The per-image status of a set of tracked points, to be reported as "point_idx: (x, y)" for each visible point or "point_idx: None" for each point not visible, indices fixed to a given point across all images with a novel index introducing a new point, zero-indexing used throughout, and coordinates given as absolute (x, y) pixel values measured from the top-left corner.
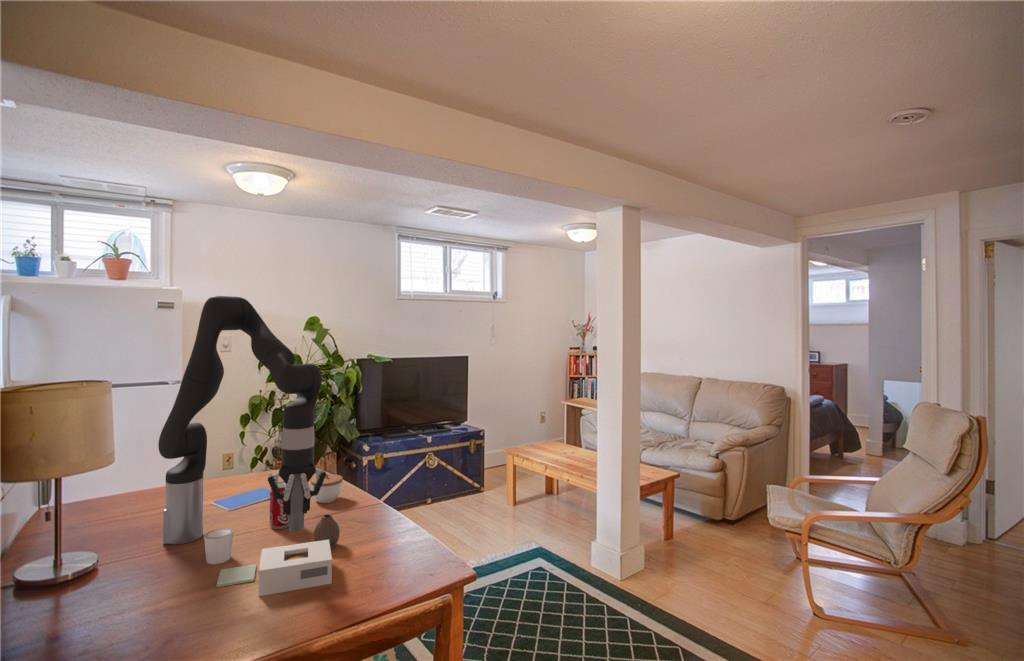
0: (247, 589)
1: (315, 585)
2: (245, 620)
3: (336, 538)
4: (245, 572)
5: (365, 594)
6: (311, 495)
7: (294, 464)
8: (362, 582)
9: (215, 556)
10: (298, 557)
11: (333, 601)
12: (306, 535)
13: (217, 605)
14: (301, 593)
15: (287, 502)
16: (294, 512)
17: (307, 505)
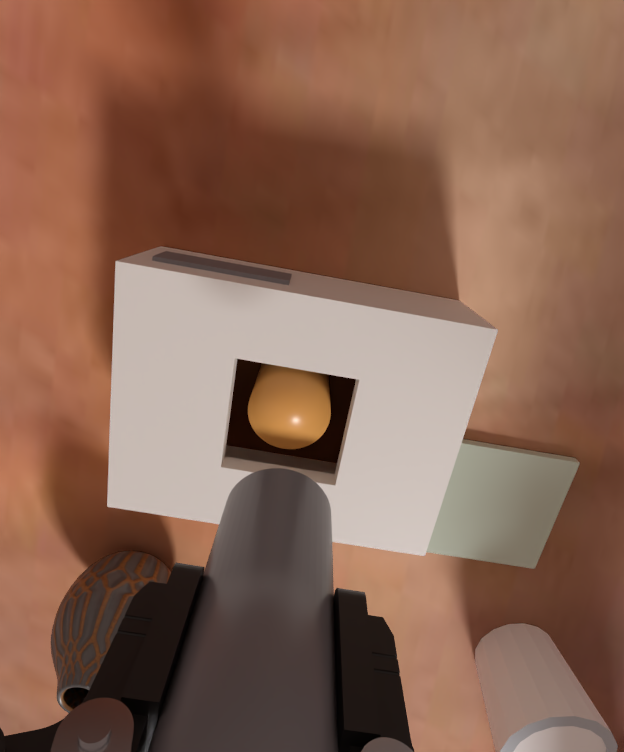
0: (481, 383)
1: (230, 259)
2: (553, 115)
3: (84, 572)
4: (464, 505)
5: (18, 43)
6: (45, 744)
7: None
8: (22, 179)
9: (545, 649)
10: (275, 427)
11: (175, 63)
12: None
13: (609, 313)
14: (296, 229)
15: (365, 715)
16: (293, 579)
17: (147, 631)
